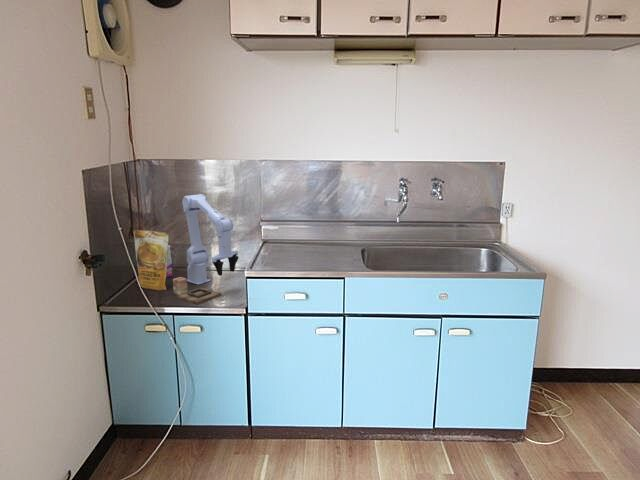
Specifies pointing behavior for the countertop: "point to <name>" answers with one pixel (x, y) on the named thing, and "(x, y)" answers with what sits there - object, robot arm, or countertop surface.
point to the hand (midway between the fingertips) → (226, 273)
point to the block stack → (180, 285)
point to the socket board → (199, 295)
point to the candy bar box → (169, 264)
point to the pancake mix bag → (151, 258)
